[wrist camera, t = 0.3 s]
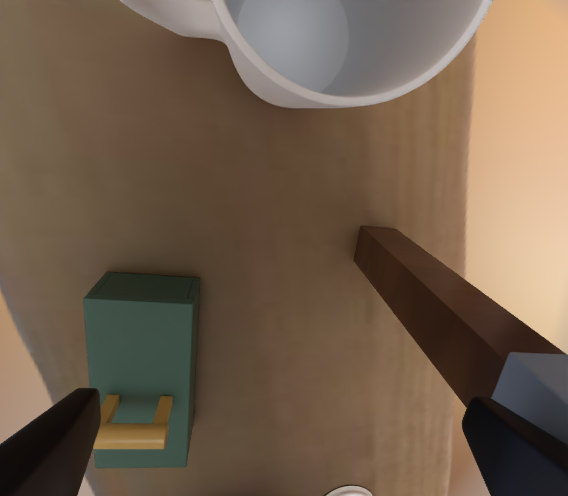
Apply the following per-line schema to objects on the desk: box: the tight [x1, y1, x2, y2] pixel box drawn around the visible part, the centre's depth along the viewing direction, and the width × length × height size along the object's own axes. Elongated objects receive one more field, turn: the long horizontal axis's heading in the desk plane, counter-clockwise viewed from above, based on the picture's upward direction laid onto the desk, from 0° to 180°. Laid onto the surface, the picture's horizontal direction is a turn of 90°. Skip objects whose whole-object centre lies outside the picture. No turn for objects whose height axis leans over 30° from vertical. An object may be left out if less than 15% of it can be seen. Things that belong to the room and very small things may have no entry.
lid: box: [83, 295, 194, 468], centre depth 20 cm, size 12×6×4 cm, turn 173°
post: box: [354, 226, 567, 408], centre depth 17 cm, size 2×2×14 cm
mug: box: [119, 0, 493, 108], centre depth 13 cm, size 10×7×12 cm, turn 86°
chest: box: [88, 272, 200, 452], centre depth 23 cm, size 12×6×3 cm, turn 173°
